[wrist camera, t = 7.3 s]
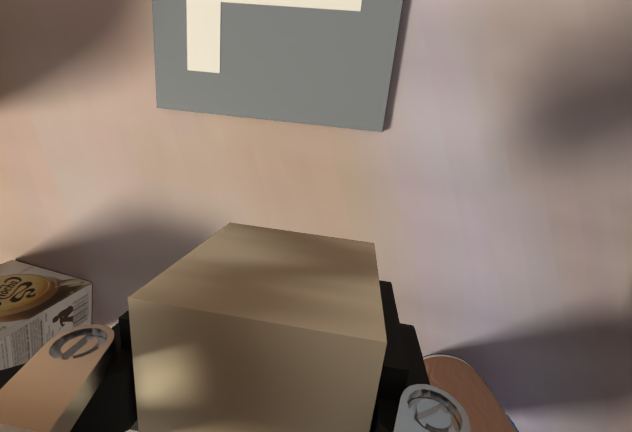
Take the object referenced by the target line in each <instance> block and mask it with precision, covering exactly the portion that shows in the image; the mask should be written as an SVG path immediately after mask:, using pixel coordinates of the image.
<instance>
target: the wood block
mask: <svg viewBox="0 0 632 432" xmlns="http://www.w3.org/2000/svg"><path fill="white" fill-rule="evenodd" d="M128 308H129V320H130V332H131V344H132V357H133V369H134V381H135V393H136V405H137V418H138V430H139V432H369V431H370V426H371V421H372V416H373V411H374V406H375V401H376V396H377V391H378V386H379V381H380V376H381V371H382V366H383V361H384V356H385V351H386V346H387V338H386V330H385V323H384V315H383V307H382V300H381V292H380V284H379V277H378V269H377V261H376V254H375V246H374V243H369V242H362V241H355V240H348V239H341V238H334V237H327V236H320V235H313V234H306V233H299V232H292V231H285V230H278V229H271V228H264V227H257V226H250V225H243V224H236V223H229V224H228V225H226V226H225V227H223V228H222V229H221V230H219V231H218V232H217V233H215V234H214V235H213V236H211V237H210V238H208V239H207V240H206V241H204V242H203V243H202V244H200V245H199V246H197V247H196V248H195V249H193V250H192V251H191V252H189V253H188V254H187V255H185V256H184V257H182V258H181V259H180V260H178V261H177V262H176V263H174V264H173V265H172V266H170V267H169V268H167V269H166V270H165V271H163V272H162V273H161V274H159V275H158V276H156V277H155V278H154V279H152V280H151V281H150V282H148V283H147V284H146V285H144V286H143V287H141V288H140V289H139V290H137V291H136V292H135V293H133V294H132V295H131V296H129V297H128Z"/></svg>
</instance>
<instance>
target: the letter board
mask: <svg viewBox="0 0 632 432" xmlns="http://www.w3.org/2000/svg"><path fill="white" fill-rule="evenodd" d="M402 2H403V0H152V7H153V30H154V53H155V77H156V100H157V108H162V109H172V110H181V111H191V112H200V113H209V114H219V115H228V116H237V117H247V118H256V119H265V120H275V121H284V122H294V123H303V124H312V125H322V126H331V127H340V128H350V129H359V130H369V131H378V132H382V130H383V123H384V117H385V110H386V104H387V98H388V91H389V85H390V79H391V72H392V66H393V60H394V53H395V47H396V41H397V34H398V28H399V22H400V15H401V9H402Z"/></svg>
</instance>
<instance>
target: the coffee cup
mask: <svg viewBox="0 0 632 432" xmlns="http://www.w3.org/2000/svg"><path fill="white" fill-rule="evenodd" d="M423 360H424V364H425V367H426V371H427V375H428V378H429V382H430V385H431V386H434V387H437V388H439V389H441V390H443V391H445V392H447V393H448V394H450V395H451V396H452V397H454V398H455V399H456V400H457V401H458V402H459V403H460V404H461V406H462V407H463V408H464V410H465V412H466V413H467V415H468V417H469V422H470V426H471V432H519V431H518V429H517V428H516V426H515V425H514V423H513V422H512V420H511V419H510V418H509V416H508V415H507V414H505V412H504V411H503V409H502V408H501V406H500V405H499V403H498V402H497V400H496V398H495V397H494V395H493V394H492V393H491V391H490V390H489V388H488V386H487V385H486V383H485V382H484V380H483V379H482V378H481V377H480V375H478V374H477V372H476V371H475V370H474V369H473V368H472V367H471V366H470V365H469V364H468V363H466V362H465V361H463V360H461V359H459V358H457V357H454V356H450V355H431V356H427V357H424V358H423Z"/></svg>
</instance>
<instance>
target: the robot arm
mask: <svg viewBox="0 0 632 432" xmlns="http://www.w3.org/2000/svg"><path fill="white" fill-rule="evenodd" d="M379 284H380V292H381V300H382V307H383V315H384V323H385V330H386V338H387V346H386V351H385V356H384V361H383V366H382V371H381V376H380V381H379V386H378V391H377V396H376V401H375V406H374V411H373V416H372V421H371V426H370V431H369V432H471V426H470V422H469V417H468V415H467V413H466V412H465V410H464V408H463V407H462V406H461V404H460V403H459V402H458V401H457V400H456V399H455V398H454V397H452V396H451V395H450V394H448V393H447V392H445V391H443V390H441V389H439V388H437V387H434V386H431V385H430V382H429V378H428V375H427V371H426V367H425V364H424V360H423V357H422V353H421V349H420V346H419V342H418V339H417V335H416V331H415V328H414V326H412V325H407V324H401V323H399V318H398V313H397V308H396V304H395V299H394V294H393V289H392V284H391V282H386V281H380V280H379ZM129 429H131V430H135V431H139V430H138V418H137V405H136V393H135V381H134V369H133V357H132V344H131V332H130V320H129V310H128V311H127V312H126V313H124V314H123V315H122V316H121V317H119V323H117V324H116V325H115V326H114V327H112V328H110V327H108V326H105V325H99V324H91V325H83V326H79V327H75V328H72V329H69V330H66V331H64V332H62V333H60V334H58V335H56V336H55V337H53V338H52V339H51V340H49V341H48V342H47V343H46V344H45V345H44V346H43V347H42V348H41V349H40V350H39V351H38V352H37V353H36V354H35V355H34V356H33V357H32V358H31V359H30V360H29V361H28V362H27V363H25V364H21V365H17V366H14V367H10V368H7V369H3V370H0V432H125V431H127V430H129Z"/></svg>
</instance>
